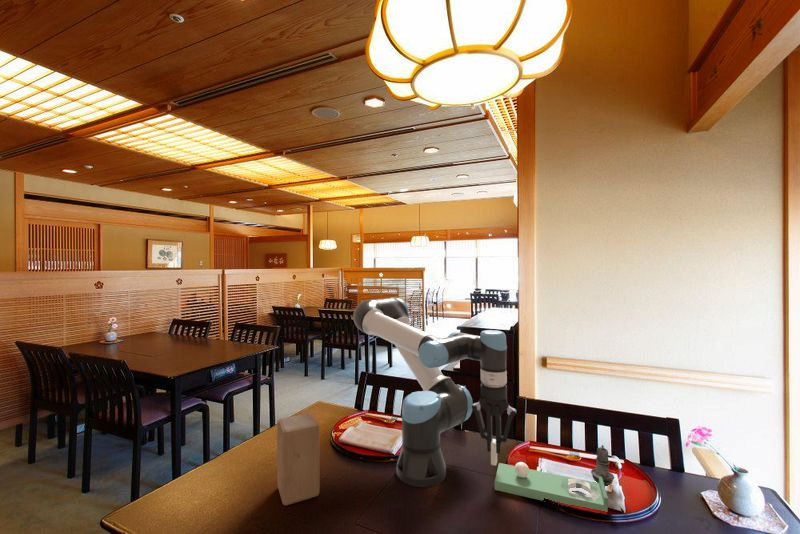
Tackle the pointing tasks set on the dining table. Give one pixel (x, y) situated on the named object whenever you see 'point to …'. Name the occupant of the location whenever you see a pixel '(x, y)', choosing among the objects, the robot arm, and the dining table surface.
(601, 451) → the dark grey figurine
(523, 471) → the ball
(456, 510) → the dining table surface
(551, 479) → the green flat block
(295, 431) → the wooden block
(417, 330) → the robot arm
